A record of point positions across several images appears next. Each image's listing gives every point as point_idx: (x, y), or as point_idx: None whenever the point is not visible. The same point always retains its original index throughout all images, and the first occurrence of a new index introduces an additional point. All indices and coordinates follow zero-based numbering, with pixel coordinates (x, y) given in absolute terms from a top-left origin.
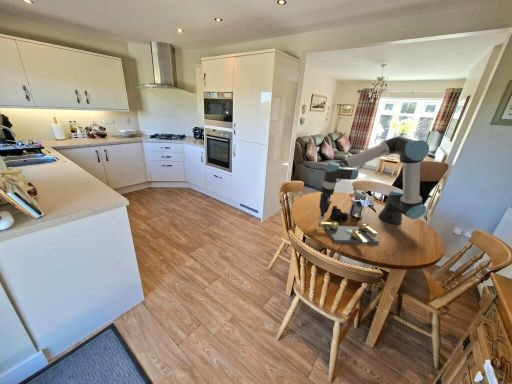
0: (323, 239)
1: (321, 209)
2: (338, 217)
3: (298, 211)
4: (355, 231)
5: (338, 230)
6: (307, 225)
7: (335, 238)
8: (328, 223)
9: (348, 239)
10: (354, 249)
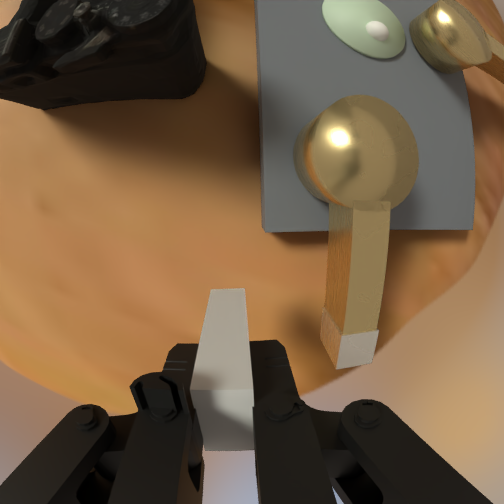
0: (423, 293)
1: (198, 460)
2: (183, 27)
3: (38, 368)
4: (468, 34)
5: None
6: None
7: (463, 217)
8: (378, 260)
9: (463, 112)
10: (490, 124)
